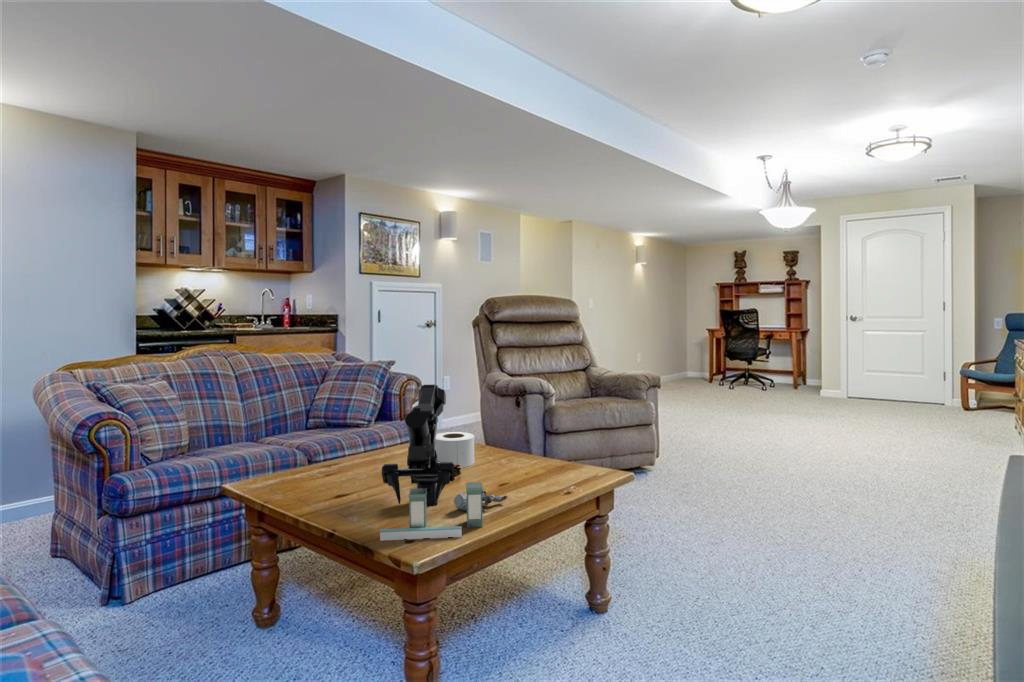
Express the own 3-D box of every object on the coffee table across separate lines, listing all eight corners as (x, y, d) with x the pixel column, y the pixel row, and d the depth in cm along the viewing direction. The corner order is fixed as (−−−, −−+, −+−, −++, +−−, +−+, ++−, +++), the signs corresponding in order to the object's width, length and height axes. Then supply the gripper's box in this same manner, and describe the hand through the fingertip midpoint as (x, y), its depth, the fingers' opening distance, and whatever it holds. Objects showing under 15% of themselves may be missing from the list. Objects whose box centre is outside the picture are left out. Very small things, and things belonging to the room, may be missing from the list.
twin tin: (466, 521, 156) (465, 482, 156) (481, 520, 157) (481, 482, 156) (466, 528, 151) (466, 488, 150) (482, 527, 151) (482, 487, 151)
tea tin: (411, 528, 151) (410, 488, 150) (427, 527, 151) (426, 488, 151) (409, 536, 146) (408, 494, 145) (426, 535, 146) (425, 494, 146)
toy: (509, 499, 169) (473, 504, 158) (485, 514, 175) (448, 520, 164) (501, 477, 172) (465, 480, 161) (478, 493, 178) (441, 497, 167)
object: (472, 469, 210) (472, 439, 210) (429, 469, 211) (429, 439, 210) (476, 458, 226) (475, 431, 225) (436, 458, 226) (436, 431, 226)
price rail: (380, 538, 144) (380, 529, 144) (461, 535, 146) (461, 526, 146) (380, 540, 143) (380, 531, 142) (461, 537, 145) (461, 528, 144)
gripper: (381, 433, 150) (376, 488, 140) (454, 431, 152) (454, 485, 142) (385, 456, 159) (381, 509, 148) (454, 454, 160) (454, 506, 150)
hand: (417, 502), depth 147 cm, fingers open, 9 cm apart
